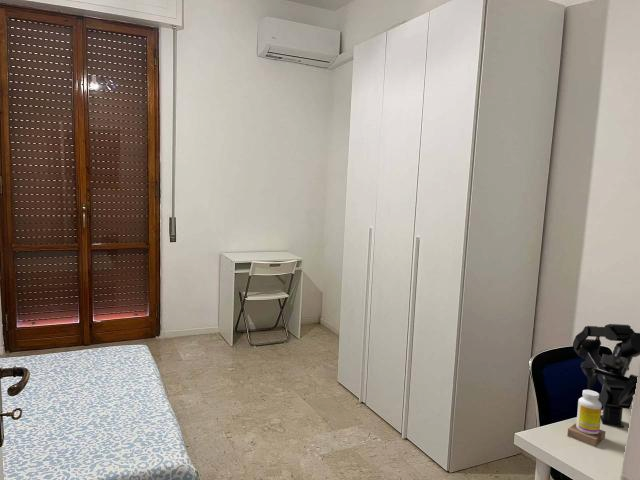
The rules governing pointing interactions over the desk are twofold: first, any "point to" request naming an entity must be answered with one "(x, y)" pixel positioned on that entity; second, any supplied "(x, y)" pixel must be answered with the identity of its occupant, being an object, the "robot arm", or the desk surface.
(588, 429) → the supplement bottle
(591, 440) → the walnut plinth
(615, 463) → the desk surface
